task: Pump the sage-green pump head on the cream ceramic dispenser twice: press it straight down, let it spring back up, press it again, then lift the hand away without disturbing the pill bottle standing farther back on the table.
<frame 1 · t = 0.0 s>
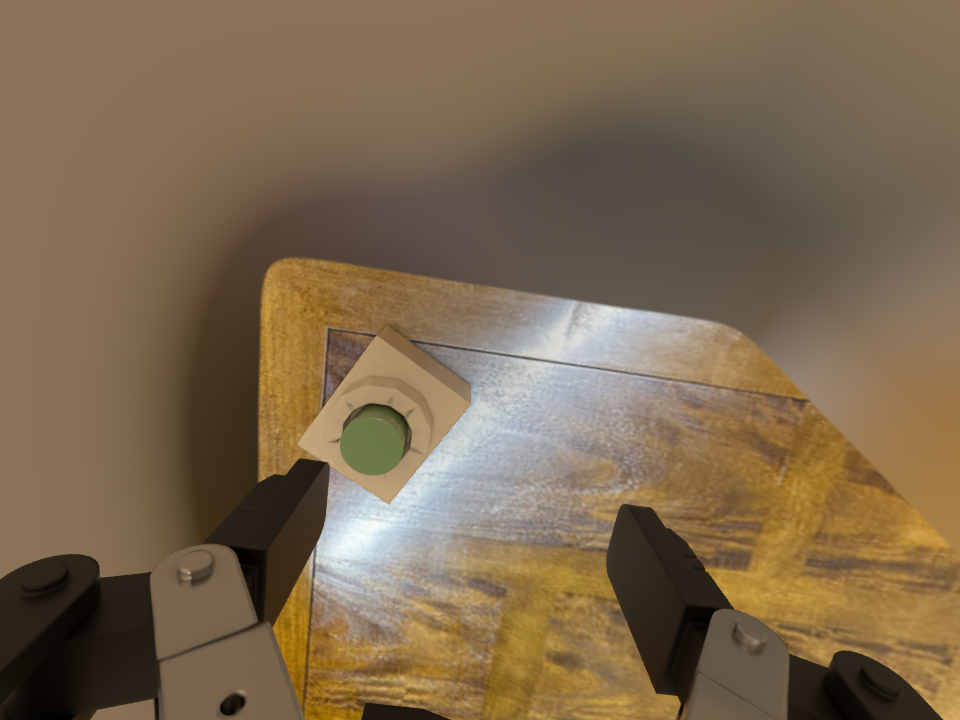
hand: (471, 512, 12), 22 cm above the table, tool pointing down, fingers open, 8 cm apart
pump head: (375, 440, 29), point 7 cm above the table, slide at 0.1 cm
dispenser: (392, 404, 35), on the table
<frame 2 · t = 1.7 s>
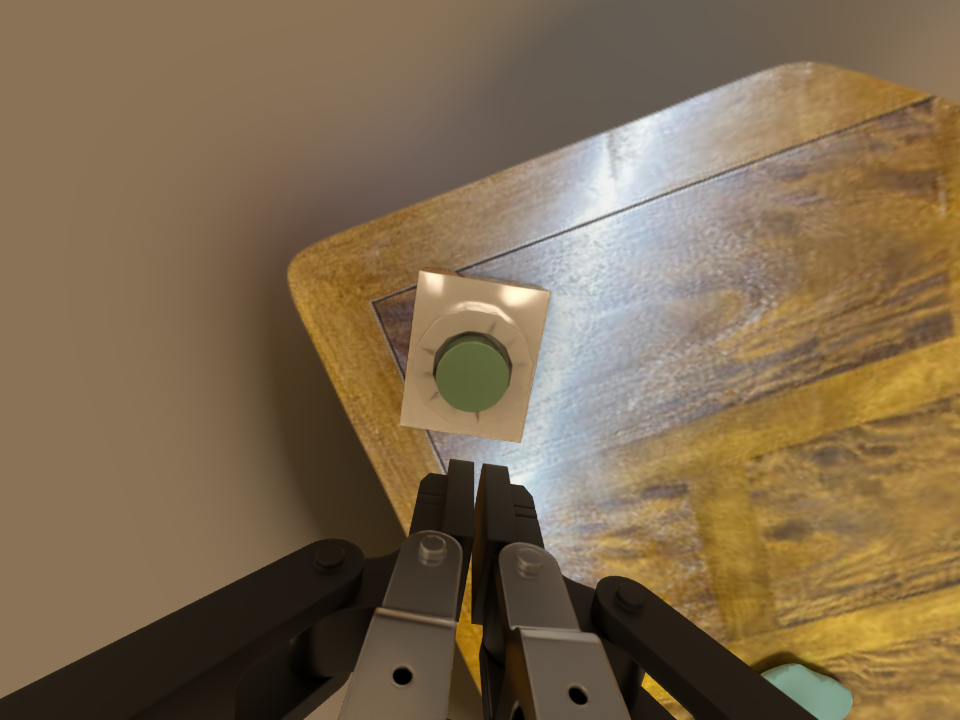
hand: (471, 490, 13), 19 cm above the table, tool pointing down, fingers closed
pump head: (472, 372, 25), point 7 cm above the table, slide at 0.1 cm
dispenser: (472, 346, 31), on the table
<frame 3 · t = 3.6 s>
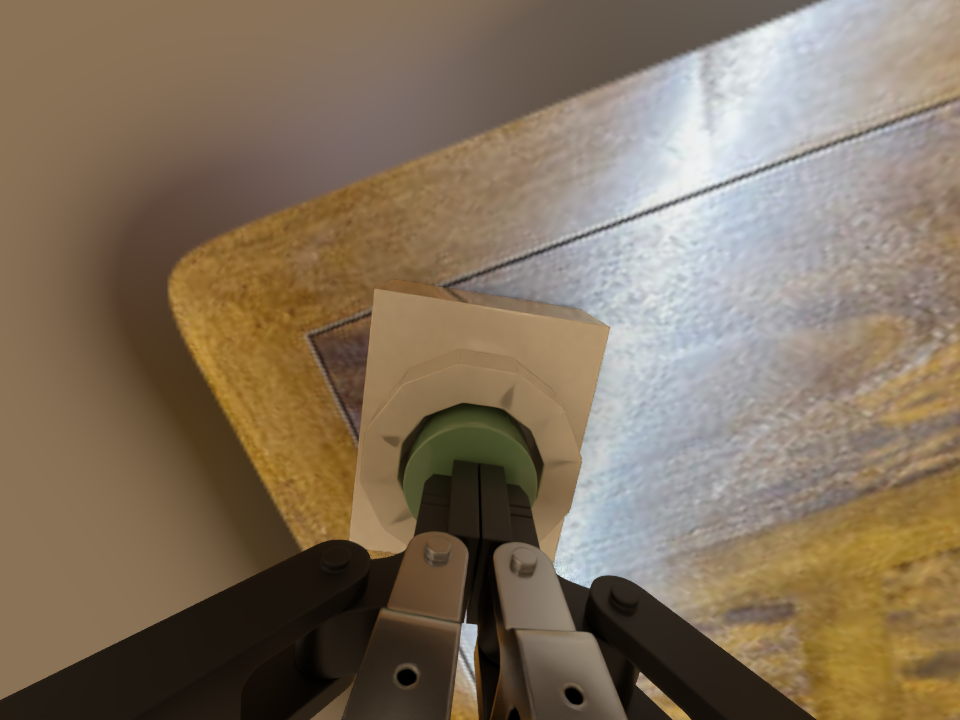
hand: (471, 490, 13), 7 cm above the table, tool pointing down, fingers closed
pump head: (470, 470, 14), point 6 cm above the table, slide at -0.6 cm, touching gripper
dispenser: (471, 405, 20), on the table
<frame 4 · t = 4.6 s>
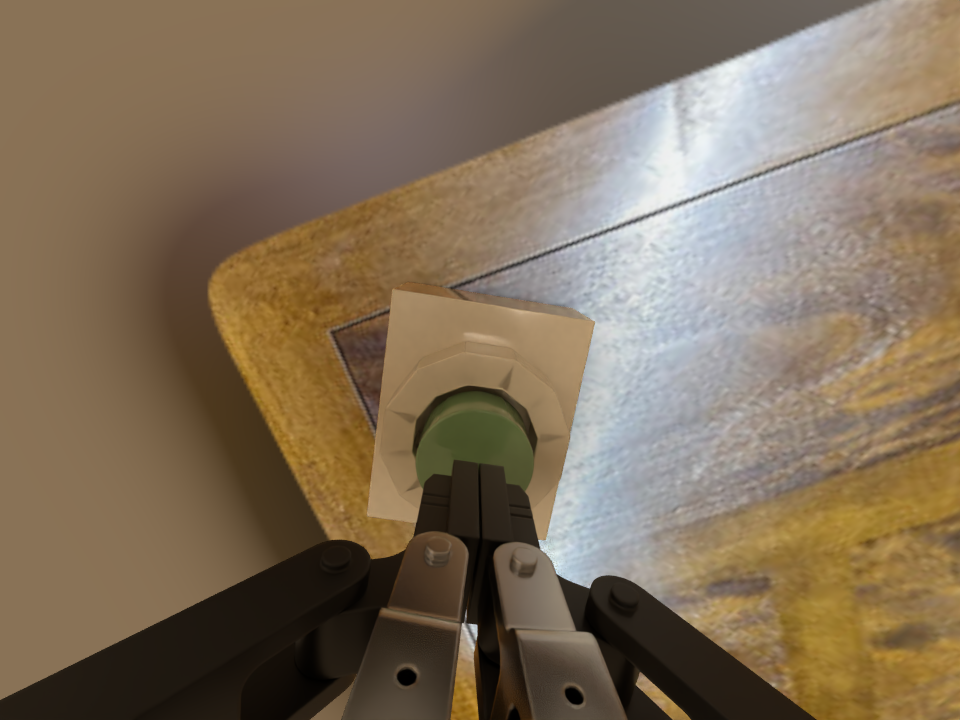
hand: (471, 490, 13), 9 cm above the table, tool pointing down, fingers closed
pump head: (474, 452, 16), point 7 cm above the table, slide at 0.1 cm
dispenser: (474, 393, 22), on the table
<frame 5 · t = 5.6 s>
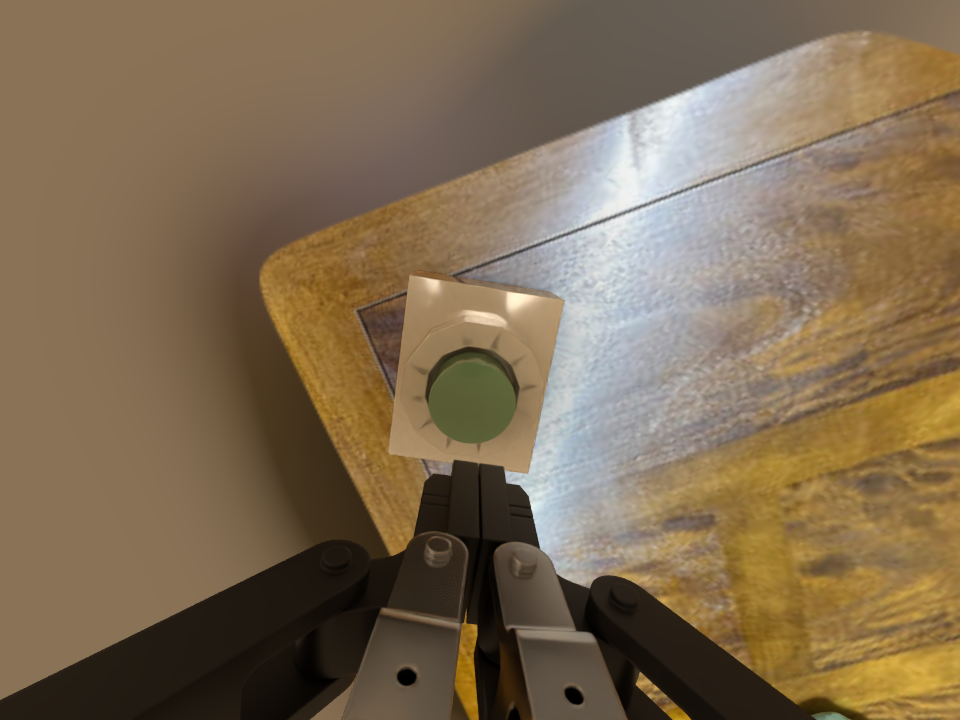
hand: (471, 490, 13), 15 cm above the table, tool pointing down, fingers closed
pump head: (472, 396, 21), point 7 cm above the table, slide at 0.1 cm
dispenser: (472, 361, 28), on the table
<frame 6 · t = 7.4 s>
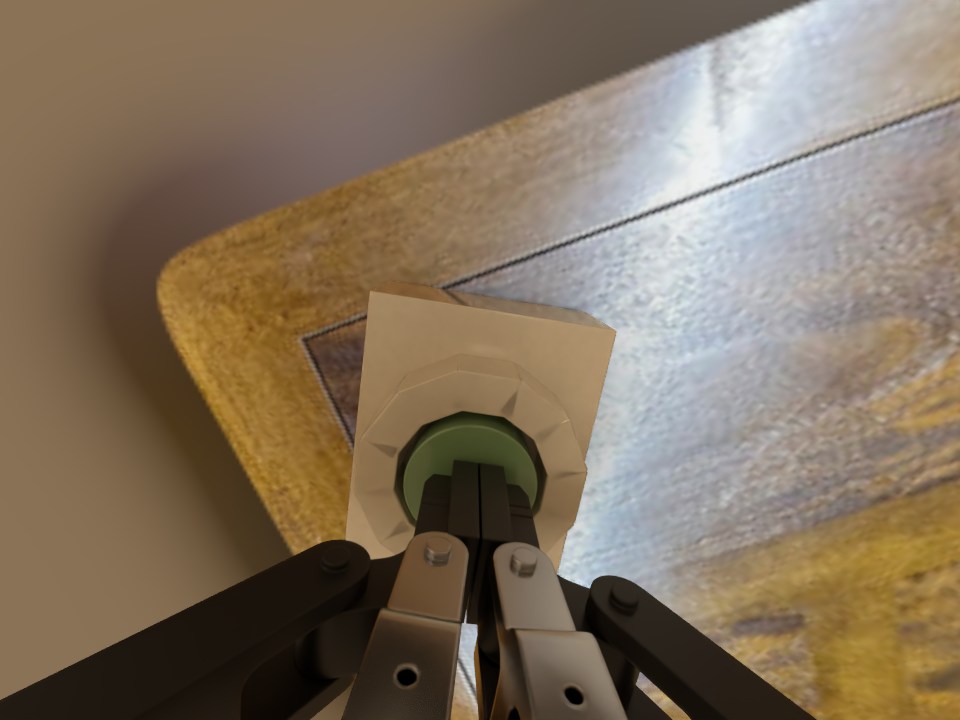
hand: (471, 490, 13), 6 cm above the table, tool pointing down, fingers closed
pump head: (470, 471, 14), point 5 cm above the table, slide at -1.3 cm, touching gripper
dispenser: (471, 410, 19), on the table
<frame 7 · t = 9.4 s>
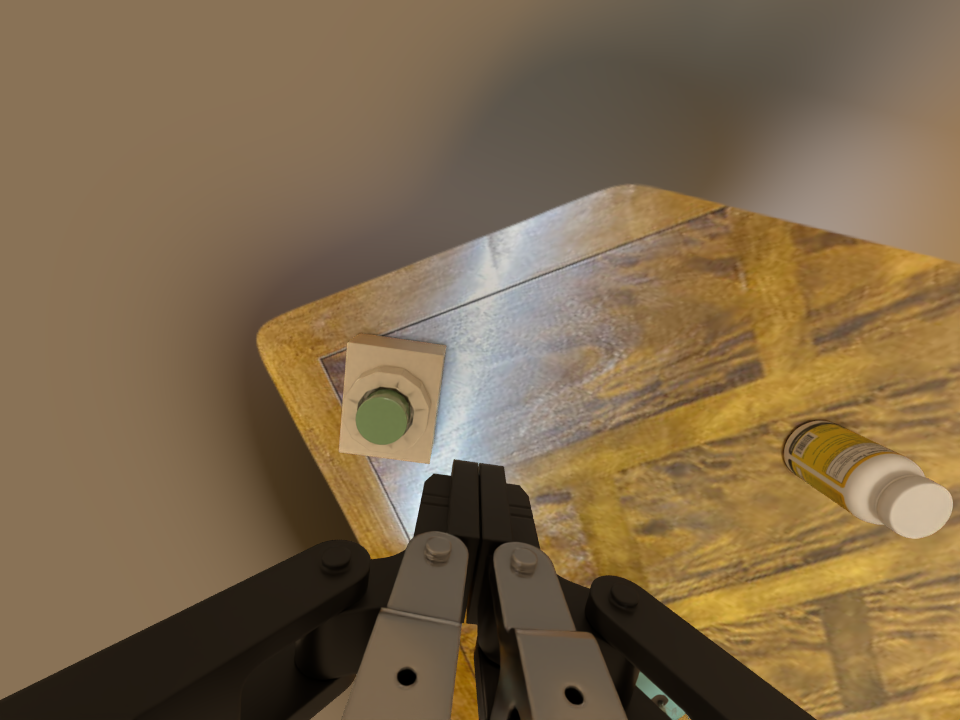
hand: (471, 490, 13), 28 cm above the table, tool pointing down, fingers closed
pill bottle: (810, 446, 44), on the table
penguin figurine: (628, 686, 51), on the table
pump head: (383, 416, 35), point 7 cm above the table, slide at 0.1 cm
dispenser: (397, 390, 42), on the table
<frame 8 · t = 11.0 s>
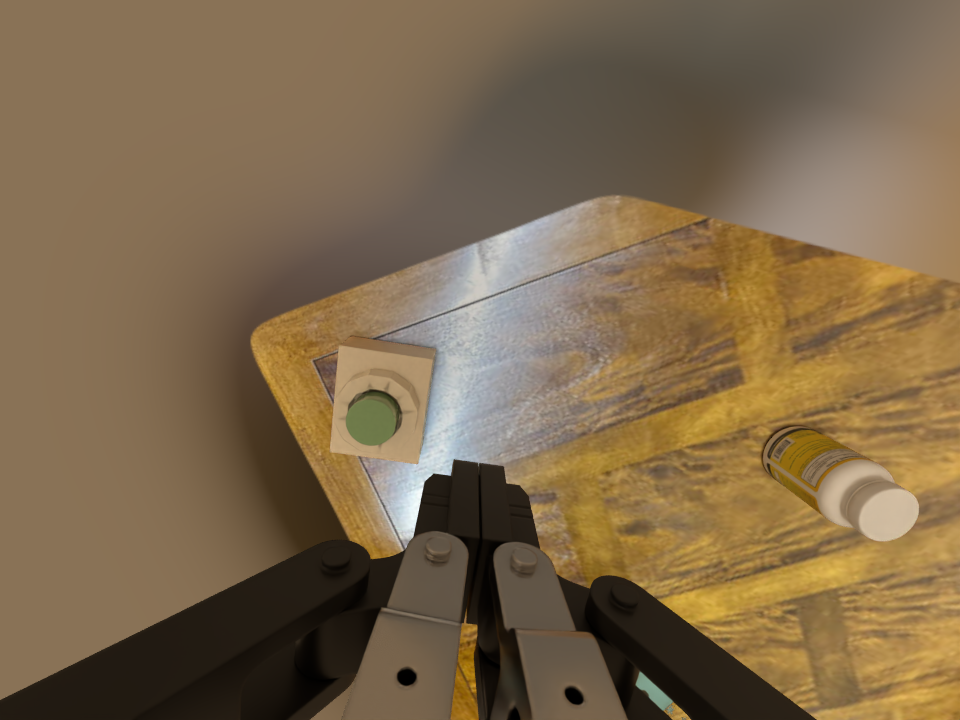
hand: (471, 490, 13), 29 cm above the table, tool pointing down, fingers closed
pill bottle: (789, 451, 45), on the table
penguin figurine: (611, 682, 52), on the table
pump head: (373, 418, 36), point 7 cm above the table, slide at 0.1 cm
dispenser: (388, 392, 43), on the table
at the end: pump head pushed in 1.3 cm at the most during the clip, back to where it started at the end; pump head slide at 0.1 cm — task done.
